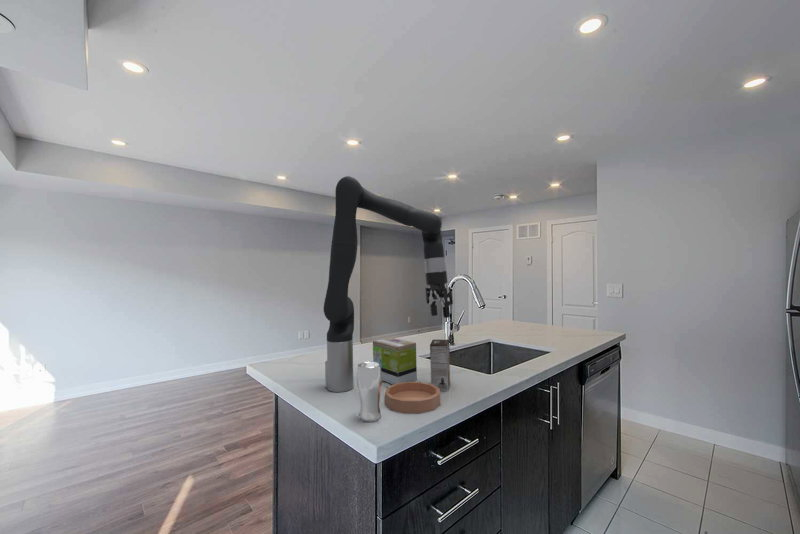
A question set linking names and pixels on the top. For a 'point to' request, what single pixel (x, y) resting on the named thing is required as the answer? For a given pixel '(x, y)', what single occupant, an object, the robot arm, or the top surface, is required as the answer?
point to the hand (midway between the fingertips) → (440, 316)
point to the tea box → (396, 360)
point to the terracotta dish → (412, 397)
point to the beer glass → (369, 390)
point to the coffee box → (440, 364)
